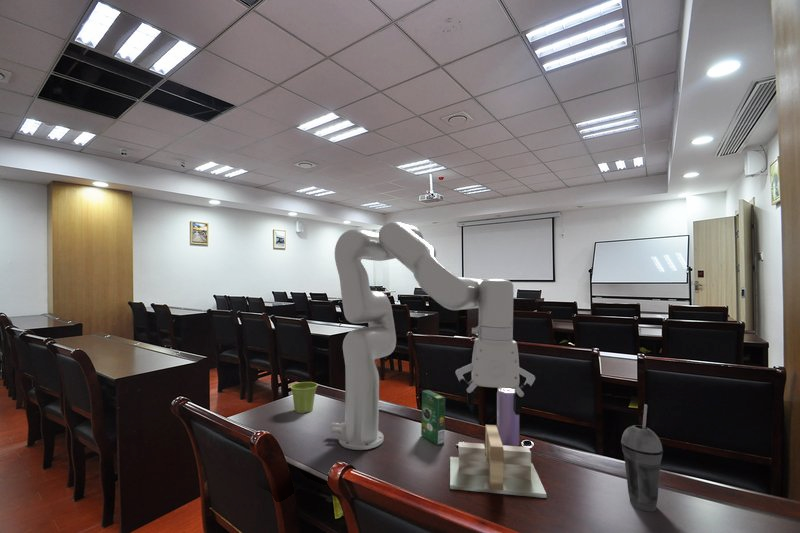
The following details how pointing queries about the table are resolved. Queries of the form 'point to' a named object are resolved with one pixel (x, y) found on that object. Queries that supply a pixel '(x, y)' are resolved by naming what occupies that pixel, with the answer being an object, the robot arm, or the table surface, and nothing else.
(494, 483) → the wooden block
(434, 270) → the robot arm
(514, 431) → the beverage can
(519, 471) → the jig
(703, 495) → the table surface
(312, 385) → the plant pot
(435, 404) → the coffee box
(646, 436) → the beverage cup
